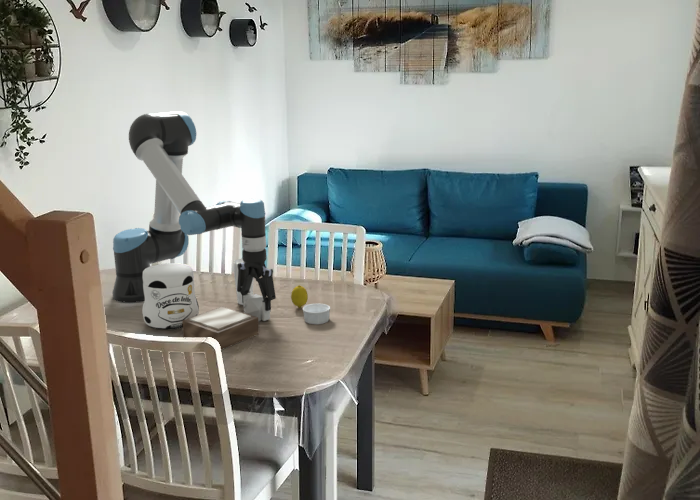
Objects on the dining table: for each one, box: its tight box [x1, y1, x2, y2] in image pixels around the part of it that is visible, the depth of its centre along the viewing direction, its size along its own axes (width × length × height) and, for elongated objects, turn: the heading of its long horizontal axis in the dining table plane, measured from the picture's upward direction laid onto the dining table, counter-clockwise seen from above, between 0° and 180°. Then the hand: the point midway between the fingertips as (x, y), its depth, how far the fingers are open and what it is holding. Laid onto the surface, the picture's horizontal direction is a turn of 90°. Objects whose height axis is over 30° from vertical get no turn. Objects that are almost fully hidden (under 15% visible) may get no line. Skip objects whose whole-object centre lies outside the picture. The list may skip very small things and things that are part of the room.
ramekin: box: [302, 302, 331, 325], centre depth 231 cm, size 9×9×4 cm
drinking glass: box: [233, 258, 255, 306], centre depth 246 cm, size 7×7×15 cm
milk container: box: [141, 262, 200, 331], centre depth 227 cm, size 17×17×18 cm
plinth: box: [182, 305, 260, 350], centre depth 218 cm, size 16×16×6 cm
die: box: [242, 293, 271, 323], centre depth 232 cm, size 8×9×10 cm
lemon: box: [290, 284, 309, 309], centre depth 242 cm, size 6×6×8 cm
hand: (256, 316), depth 233 cm, fingers closed on die, 8 cm apart
